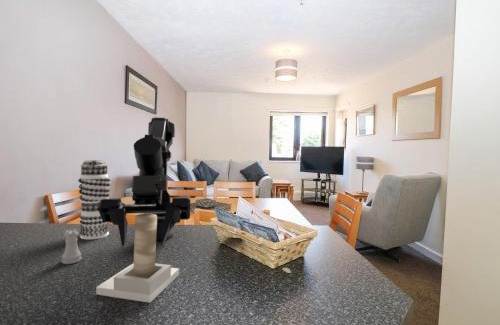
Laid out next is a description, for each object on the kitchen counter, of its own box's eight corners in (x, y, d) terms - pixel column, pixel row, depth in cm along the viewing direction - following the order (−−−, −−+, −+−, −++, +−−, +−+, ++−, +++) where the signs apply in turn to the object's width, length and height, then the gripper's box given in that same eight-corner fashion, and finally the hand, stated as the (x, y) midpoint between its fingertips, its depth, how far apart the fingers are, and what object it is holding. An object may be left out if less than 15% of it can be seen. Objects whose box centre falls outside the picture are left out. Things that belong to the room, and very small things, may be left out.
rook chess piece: (71, 265, 68) (71, 234, 67) (56, 263, 68) (56, 232, 68) (86, 258, 72) (85, 228, 71) (71, 257, 73) (71, 227, 72)
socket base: (133, 269, 66) (133, 252, 66) (179, 274, 64) (179, 258, 64) (96, 294, 55) (96, 274, 54) (150, 302, 52) (150, 282, 52)
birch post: (147, 275, 60) (150, 212, 59) (158, 282, 57) (161, 216, 56) (129, 281, 57) (131, 215, 56) (139, 289, 54) (141, 220, 53)
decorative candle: (87, 241, 84) (87, 161, 83) (73, 236, 89) (72, 160, 88) (115, 234, 92) (115, 160, 91) (100, 229, 97) (100, 159, 96)
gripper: (100, 160, 57) (80, 227, 47) (190, 161, 62) (190, 223, 51) (110, 192, 65) (95, 254, 55) (189, 191, 70) (189, 249, 59)
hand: (142, 245), depth 55 cm, fingers open, 7 cm apart
